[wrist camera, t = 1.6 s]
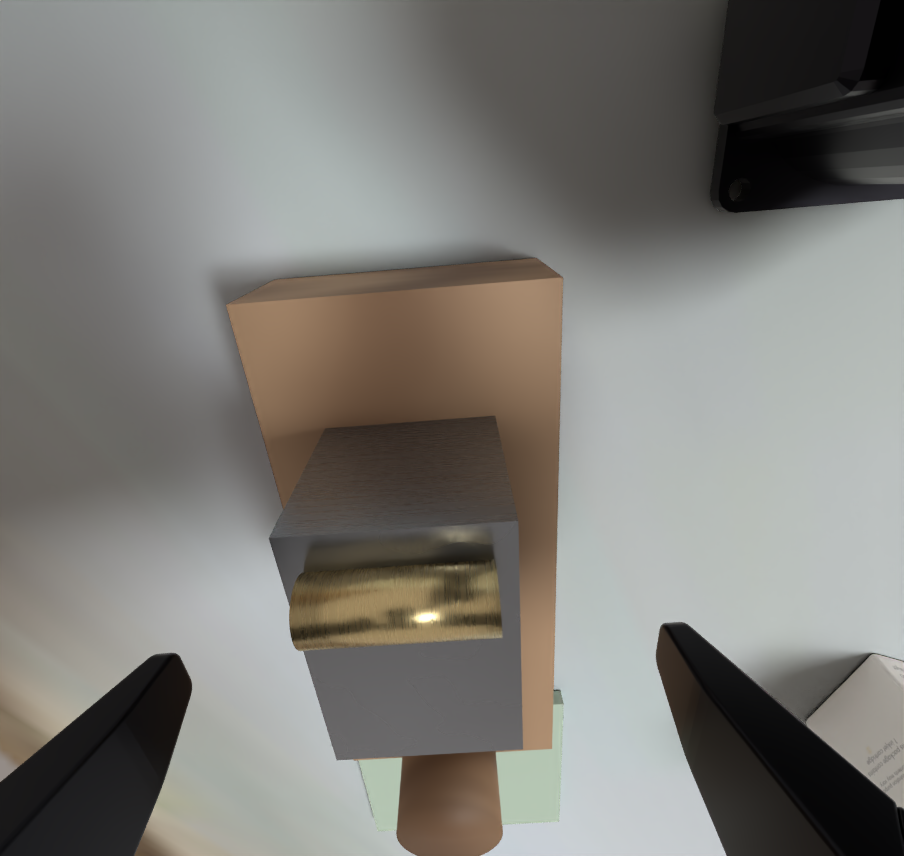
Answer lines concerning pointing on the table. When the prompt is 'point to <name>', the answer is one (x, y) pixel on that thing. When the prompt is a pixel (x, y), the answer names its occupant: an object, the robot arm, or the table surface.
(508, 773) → the mat
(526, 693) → the body
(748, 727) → the robot arm
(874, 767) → the ink cartridge box
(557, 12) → the table surface
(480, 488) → the lever cap
